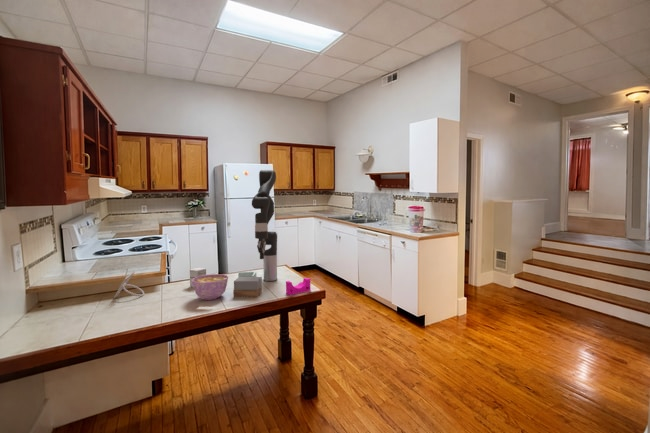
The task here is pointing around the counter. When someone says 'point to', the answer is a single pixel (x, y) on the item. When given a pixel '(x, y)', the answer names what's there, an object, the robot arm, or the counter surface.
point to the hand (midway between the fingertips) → (261, 258)
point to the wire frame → (128, 285)
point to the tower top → (248, 283)
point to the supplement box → (196, 274)
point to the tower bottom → (247, 293)
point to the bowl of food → (210, 286)
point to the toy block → (298, 287)
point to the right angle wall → (246, 274)
